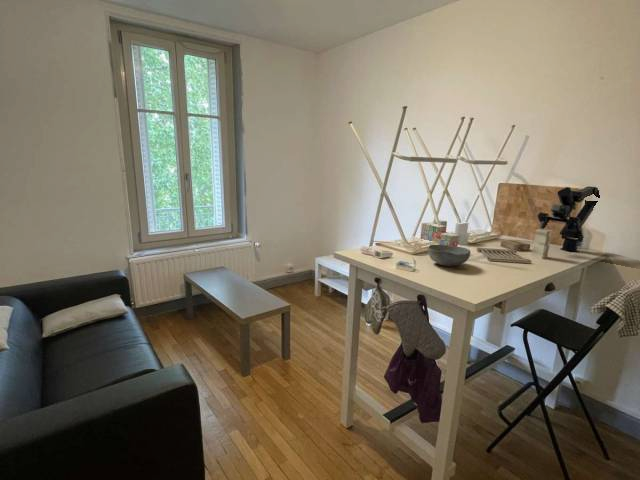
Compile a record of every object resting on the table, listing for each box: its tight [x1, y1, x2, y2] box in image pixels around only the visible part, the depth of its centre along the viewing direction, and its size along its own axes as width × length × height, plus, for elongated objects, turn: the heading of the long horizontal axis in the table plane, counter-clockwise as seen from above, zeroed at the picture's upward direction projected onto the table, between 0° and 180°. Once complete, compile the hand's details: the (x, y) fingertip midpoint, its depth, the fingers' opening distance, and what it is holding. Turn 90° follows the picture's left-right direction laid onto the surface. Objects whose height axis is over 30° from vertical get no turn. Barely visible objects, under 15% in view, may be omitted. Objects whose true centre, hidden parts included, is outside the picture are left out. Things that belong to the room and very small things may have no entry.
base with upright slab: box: [451, 221, 470, 246], centre depth 195 cm, size 9×9×12 cm
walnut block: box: [500, 239, 531, 252], centre depth 188 cm, size 10×10×4 cm
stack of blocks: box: [419, 222, 459, 247], centre depth 181 cm, size 21×6×12 cm, turn 26°
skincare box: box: [433, 219, 448, 227], centre depth 199 cm, size 6×4×12 cm
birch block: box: [531, 228, 553, 260], centre depth 170 cm, size 5×5×14 cm
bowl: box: [427, 245, 471, 267], centre depth 152 cm, size 18×18×8 cm
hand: (550, 232), depth 172 cm, fingers open, 9 cm apart
